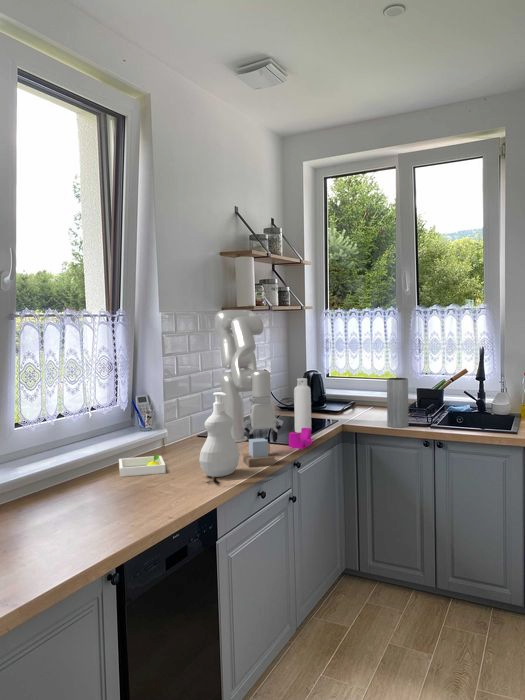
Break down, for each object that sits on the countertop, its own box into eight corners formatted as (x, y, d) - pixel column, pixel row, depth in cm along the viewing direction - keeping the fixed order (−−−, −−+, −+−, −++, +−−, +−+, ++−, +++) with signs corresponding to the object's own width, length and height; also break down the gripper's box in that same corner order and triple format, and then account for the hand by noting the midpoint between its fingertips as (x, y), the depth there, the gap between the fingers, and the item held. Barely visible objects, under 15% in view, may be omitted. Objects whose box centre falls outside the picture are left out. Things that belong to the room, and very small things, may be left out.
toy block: (302, 451, 235) (302, 434, 235) (289, 450, 238) (288, 433, 238) (316, 445, 248) (316, 428, 248) (303, 444, 251) (303, 427, 251)
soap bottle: (215, 482, 189) (213, 395, 188) (191, 476, 196) (190, 394, 195) (247, 472, 202) (246, 391, 201) (224, 467, 209) (223, 389, 208)
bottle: (314, 435, 270) (313, 378, 269) (306, 438, 263) (305, 379, 262) (299, 434, 274) (298, 377, 274) (291, 437, 268) (290, 379, 267)
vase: (388, 435, 266) (387, 379, 266) (386, 432, 276) (386, 377, 275) (409, 436, 265) (409, 379, 264) (407, 432, 275) (407, 377, 274)
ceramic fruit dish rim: (119, 466, 213) (118, 458, 213) (161, 463, 218) (161, 455, 218) (120, 476, 198) (119, 468, 198) (165, 473, 202) (165, 464, 202)
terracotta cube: (255, 455, 230) (254, 443, 230) (266, 454, 231) (266, 442, 231) (258, 457, 225) (258, 445, 225) (270, 456, 226) (269, 444, 226)
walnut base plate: (242, 461, 219) (242, 453, 218) (267, 459, 221) (267, 451, 221) (249, 467, 209) (249, 459, 209) (274, 465, 212) (274, 457, 212)
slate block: (249, 454, 217) (248, 439, 217) (263, 453, 219) (263, 438, 219) (253, 457, 211) (252, 442, 211) (268, 456, 213) (267, 440, 213)
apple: (154, 482, 209) (156, 459, 207) (140, 479, 211) (141, 456, 210) (165, 476, 215) (166, 454, 214) (151, 473, 217) (152, 451, 216)
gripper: (243, 402, 221) (244, 445, 221) (284, 400, 226) (286, 442, 226) (239, 401, 228) (240, 442, 228) (279, 398, 233) (280, 439, 233)
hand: (263, 442), depth 227 cm, fingers open, 9 cm apart
